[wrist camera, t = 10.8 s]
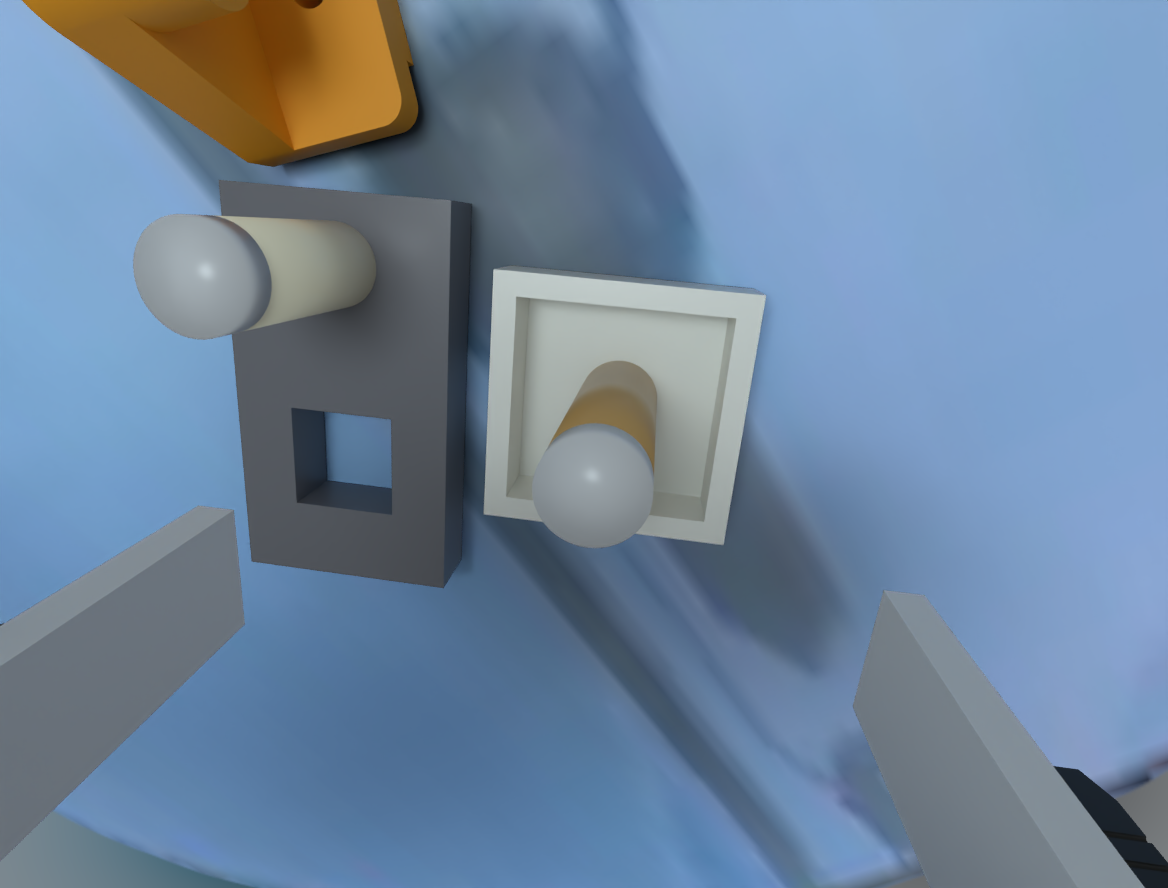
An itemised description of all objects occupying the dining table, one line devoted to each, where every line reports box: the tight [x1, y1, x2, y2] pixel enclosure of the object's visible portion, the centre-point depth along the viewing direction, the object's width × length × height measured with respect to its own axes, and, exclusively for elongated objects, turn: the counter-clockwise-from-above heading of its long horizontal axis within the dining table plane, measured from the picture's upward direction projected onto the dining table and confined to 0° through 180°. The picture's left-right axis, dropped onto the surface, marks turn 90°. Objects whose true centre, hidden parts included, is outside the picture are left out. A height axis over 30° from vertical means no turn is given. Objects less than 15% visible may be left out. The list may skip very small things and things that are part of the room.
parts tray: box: [484, 265, 766, 545], centre depth 29 cm, size 11×11×4 cm
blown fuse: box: [532, 361, 657, 548], centre depth 25 cm, size 4×4×12 cm
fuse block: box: [133, 180, 471, 588], centre depth 27 cm, size 18×10×12 cm, turn 175°
